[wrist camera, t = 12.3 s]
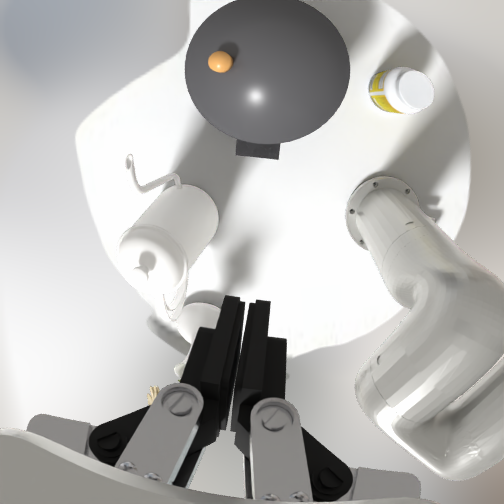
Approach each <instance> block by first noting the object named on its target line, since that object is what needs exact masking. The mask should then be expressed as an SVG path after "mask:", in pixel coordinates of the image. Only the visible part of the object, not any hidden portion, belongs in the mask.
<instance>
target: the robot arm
mask: <svg viewBox="0 0 504 504" xmlns="http://www.w3.org/2000/svg"><path fill="white" fill-rule="evenodd" d="M374 182H375V184H374V185H373V183H374ZM406 189H407V190H406ZM405 190H406V191H405ZM350 209H353V210H352V211H350ZM345 219H346V226H347V229H348V231H349V233H350V236H351V237H352V239H353V240H354V241H355V242H356V243H357V244H358V245H359V246H360V247H362V248H363V249H365V250H368V251H369V252H370V254H371V256H372V258H373V260H374V262H375V264H376V266H377V268H378V271H379V273H380V275H381V277H382V279H383V281H384V283H385V285H386V287H387V289H388V291H389V293H390V295H391V296H392V297H393V298H394V300H395V301H397V302H398V303H399V304H401V305H402V306H404V307H406V308H409V309H411V310H410V312H409V313H408V314H407V315H406V317H405V318H404V319H403V320H402V321H401V322H400V325H399V326H398V327H397V328H396V329H395V330H394V332H393V333H392V334H391V335H390V336H389V337H388V338H387V339H386V340H385V341H384V342H383V344H382V345H381V346H380V347H379V348H378V349H377V350H376V351H375V352H374V353H373V354H372V355H371V356H370V357H369V358H368V360H367V361H366V362H365V363H364V364H363V366H362V367H361V368H360V370H359V372H358V374H357V377H356V380H355V393H356V398H357V400H358V403H359V405H360V407H361V409H362V410H363V412H364V413H365V415H366V416H367V417H368V418H369V419H370V421H372V423H373V424H374V425H375V426H376V427H377V428H378V429H380V430H381V431H382V432H383V433H384V434H385V435H387V436H388V437H389V438H390V439H391V440H393V441H394V442H395V443H397V444H398V445H399V446H400V447H401V448H403V449H404V450H405V451H406V452H408V453H409V454H410V455H411V456H413V457H414V458H415V459H417V460H418V461H419V462H420V463H422V464H423V465H424V466H426V467H427V468H428V469H429V470H431V471H432V472H434V473H435V474H437V475H438V476H440V477H442V478H444V479H447V480H452V481H462V480H467V479H470V478H472V477H475V476H476V475H479V474H480V473H482V472H484V471H486V470H487V469H489V468H490V467H492V466H493V465H495V464H497V463H498V462H499V461H501V460H503V459H504V358H503V359H501V360H500V361H499V362H498V364H496V365H495V366H494V367H493V365H494V364H495V363H496V362H497V361H498V360H499V359H500V357H501V356H502V355H503V354H504V283H503V282H502V281H501V280H500V279H499V278H498V277H497V276H496V275H494V274H493V273H492V272H490V271H489V270H488V269H486V268H485V267H484V266H482V265H481V264H480V263H478V262H477V261H475V260H474V259H473V258H472V257H470V256H469V255H468V254H466V252H464V251H463V250H462V249H461V248H460V247H459V246H458V245H457V244H456V243H455V242H454V241H453V240H452V239H451V238H450V237H449V236H448V235H447V234H446V233H445V232H444V231H443V230H442V229H441V228H440V227H439V226H438V225H437V224H436V219H435V218H432V217H428V216H427V215H426V214H425V213H424V212H423V211H422V210H421V209H420V206H419V201H418V199H417V196H416V194H415V193H414V191H413V190H412V189H411V188H410V187H409V186H408V185H407V184H406V183H405V182H403V181H402V180H399V179H397V178H394V177H390V176H380V177H375V178H372V179H370V180H367V181H366V182H364V183H363V184H361V185H360V186H359V187H358V188H357V189H356V190H355V191H354V193H353V194H352V195H351V197H350V199H349V201H348V204H347V208H346V215H345ZM360 240H361V241H360ZM270 303H271V301H263V300H256V303H250V304H249V310H248V315H247V321H246V326H245V332H244V337H243V342H242V348H241V339H242V330H243V320H244V310H245V302H242V301H240V297H234V296H227V295H225V298H224V301H223V304H222V308H221V311H220V314H219V318H218V321H217V324H216V328H215V329H213V328H207V327H201V326H200V327H199V329H198V332H197V334H196V337H195V340H194V343H193V346H192V348H191V351H190V354H189V357H188V360H187V363H186V366H185V368H184V371H183V374H182V377H181V380H180V383H174V384H170V385H167V386H166V387H164V388H162V390H161V391H160V392H159V393H158V394H157V396H156V398H155V399H154V401H153V403H152V404H151V405H149V406H147V407H144V408H142V409H139V410H137V411H135V412H132V413H130V414H127V415H125V416H122V417H119V418H117V419H114V420H112V421H109V422H106V423H103V424H101V425H99V426H92V425H90V423H86V422H80V421H75V420H70V419H64V418H60V417H55V416H51V415H46V414H39V415H36V416H34V417H33V418H32V419H31V420H30V422H29V424H28V427H27V430H26V431H25V430H20V429H14V428H0V504H440V503H437V502H434V501H431V500H426V499H420V493H421V484H420V481H419V480H418V478H417V477H416V476H414V475H413V474H410V473H405V472H394V471H385V470H376V469H369V468H362V467H359V468H358V469H355V468H350V467H348V466H347V465H346V464H345V463H344V462H342V461H341V460H340V459H339V458H337V457H336V456H335V455H334V454H333V453H331V452H330V451H329V450H328V449H327V448H325V447H324V446H323V445H322V444H321V443H320V442H318V441H317V440H316V439H315V438H314V437H313V436H312V435H310V434H309V433H308V432H307V431H306V430H305V429H304V428H303V427H301V423H300V417H299V414H298V411H297V409H296V408H295V407H294V406H293V405H292V404H291V403H290V402H288V401H286V400H285V383H286V352H287V340H286V339H284V338H276V337H268V326H269V315H270ZM240 349H241V353H240ZM239 357H240V359H239ZM238 363H239V364H238ZM492 367H493V368H492ZM237 368H238V370H237ZM491 368H492V369H491ZM489 369H491V370H490V372H488V371H489ZM486 372H488V373H487V374H486V375H485V376H484V377H483V378H482V379H481V380H480V381H479V382H477V381H478V380H479V379H480V378H481V377H482V376H483V375H484V374H485V373H486ZM236 373H237V375H236ZM235 379H236V381H235ZM476 382H477V383H476ZM475 383H476V384H475ZM234 384H235V387H234ZM474 384H475V385H474ZM473 385H474V386H473ZM472 386H473V387H472ZM471 387H472V388H471ZM469 388H471V389H470V390H469V391H467V390H468V389H469ZM233 389H234V398H233V408H232V420H231V430H230V431H233V432H236V435H235V443H234V444H235V445H236V446H237V448H238V449H240V451H241V452H242V453H243V474H244V498H237V497H230V496H223V495H217V494H211V493H206V492H200V491H196V490H191V489H188V488H189V486H190V484H191V482H192V479H193V477H194V475H195V472H196V470H197V468H198V466H199V463H200V461H201V459H202V456H203V454H204V452H205V449H206V446H208V445H210V444H211V443H213V442H215V441H216V437H218V436H219V432H220V430H226V426H227V421H228V416H229V411H230V405H231V400H232V395H233ZM466 391H467V392H466ZM465 392H466V393H465ZM464 393H465V394H464ZM463 394H464V395H463ZM461 395H463V396H462V397H460V398H459V399H458V400H457V401H454V400H456V399H457V398H458V397H459V396H461ZM453 401H454V402H453Z"/></svg>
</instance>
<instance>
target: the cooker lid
mask: <svg viewBox="0 0 504 504" xmlns="http://www.w3.org/2000/svg"><path fill="white" fill-rule="evenodd" d="M185 78H186V84H187V88H188V92H189V94H190V96H191V99H192V101H193V103H194V104H195V106H196V108H197V109H198V111H199V112H200V113H201V114H202V116H203V117H204V118H205V119H206V120H207V121H208V122H209V123H210V124H212V125H213V126H214V127H216V128H217V129H218V130H220V131H222V132H223V133H225V134H227V135H229V136H231V137H234V138H236V139H239V140H242V141H246V142H251V143H257V144H279V143H284V142H290V141H293V140H296V139H299V138H302V137H304V136H306V135H308V134H310V133H312V132H314V131H315V130H317V129H318V128H320V127H321V126H322V125H323V124H325V123H326V122H327V121H328V120H329V119H330V118H331V117H332V116H333V115H334V113H335V112H336V111H337V109H338V108H339V106H340V105H341V103H342V101H343V99H344V97H345V94H346V91H347V88H348V84H349V79H350V62H349V55H348V52H347V48H346V45H345V43H344V41H343V39H342V37H341V35H340V33H339V32H338V30H337V29H336V28H335V26H334V25H333V24H332V23H331V21H330V20H329V19H327V18H326V17H325V16H324V15H323V14H322V13H320V12H319V11H318V10H316V9H315V8H313V7H311V6H310V5H308V4H306V3H304V2H301V1H299V0H236V1H233V2H230V3H228V4H227V5H225V6H223V7H221V8H220V9H218V10H217V11H215V12H214V13H212V14H211V15H210V16H209V17H208V18H207V19H206V20H205V21H204V22H203V23H202V24H201V26H200V27H199V28H198V30H197V31H196V33H195V34H194V36H193V38H192V40H191V42H190V44H189V47H188V51H187V54H186V60H185Z"/></svg>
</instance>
